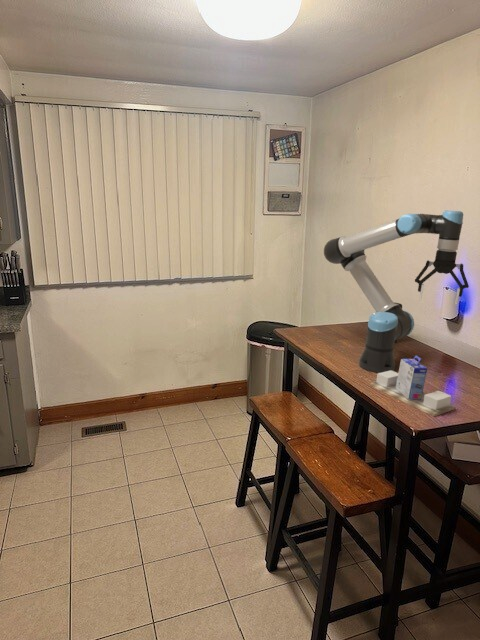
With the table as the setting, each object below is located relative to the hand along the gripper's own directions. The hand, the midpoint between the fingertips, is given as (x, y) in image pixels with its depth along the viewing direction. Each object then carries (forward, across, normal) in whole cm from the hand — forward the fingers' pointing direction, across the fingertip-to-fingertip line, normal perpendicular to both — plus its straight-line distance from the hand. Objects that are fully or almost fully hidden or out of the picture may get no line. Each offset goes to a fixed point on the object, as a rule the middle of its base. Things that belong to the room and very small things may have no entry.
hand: (437, 301), depth 181 cm
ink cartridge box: (+29, +6, +34) cm, 45 cm away
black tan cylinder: (+31, +18, -36) cm, 51 cm away
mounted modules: (+29, +5, +32) cm, 44 cm away
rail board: (+31, +5, +32) cm, 45 cm away
